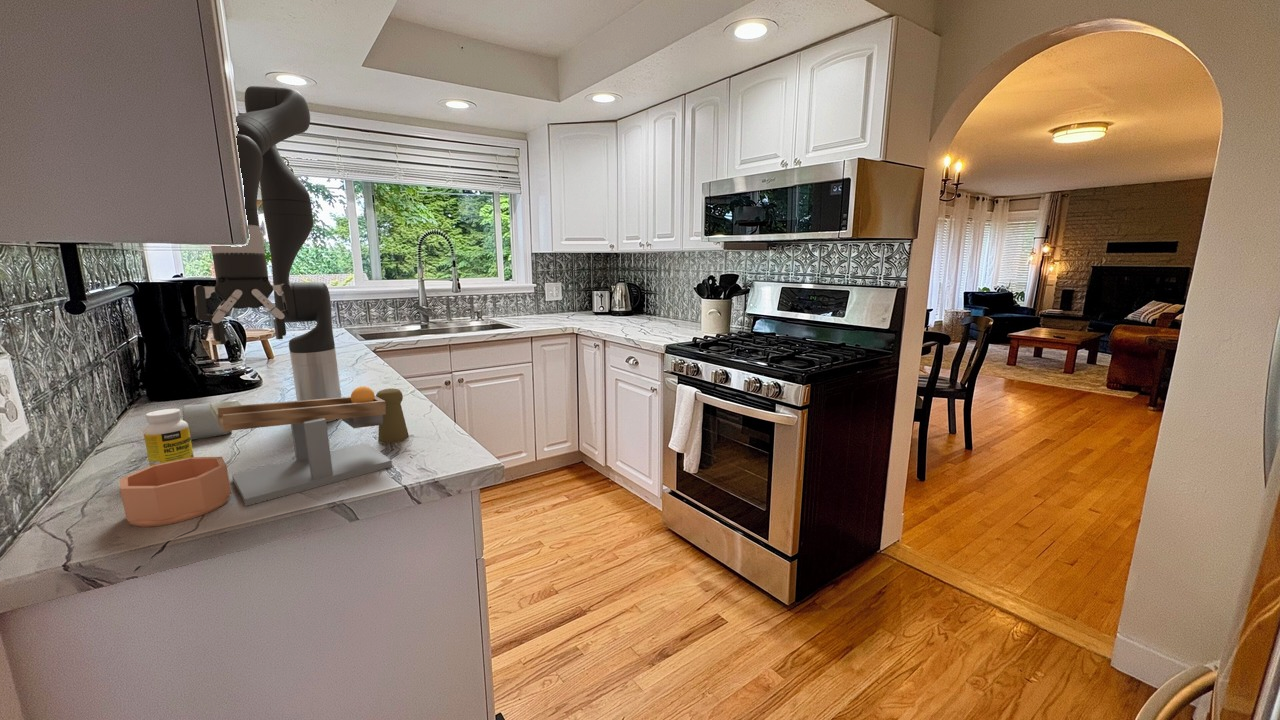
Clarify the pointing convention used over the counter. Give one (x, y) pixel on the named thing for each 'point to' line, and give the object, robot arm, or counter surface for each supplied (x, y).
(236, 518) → the counter surface
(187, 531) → the counter surface
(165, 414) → the pill bottle
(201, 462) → the orange octagonal bowl
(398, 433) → the olive green pawn
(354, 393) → the ball
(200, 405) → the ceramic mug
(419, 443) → the counter surface
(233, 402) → the chute
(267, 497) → the chute stand
